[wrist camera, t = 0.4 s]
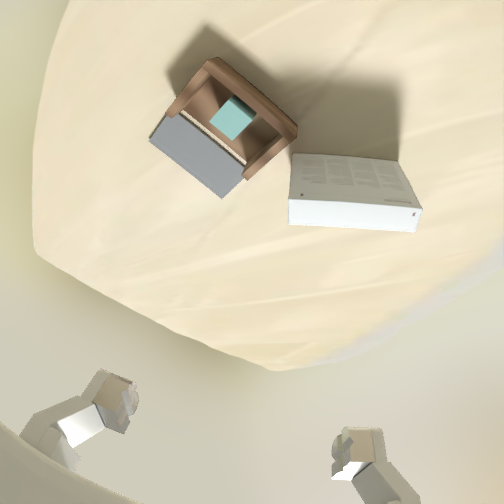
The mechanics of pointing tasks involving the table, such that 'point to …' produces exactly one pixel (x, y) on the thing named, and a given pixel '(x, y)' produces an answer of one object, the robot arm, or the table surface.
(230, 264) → the table surface
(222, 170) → the grey mat
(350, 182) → the skincare box
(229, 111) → the teal block
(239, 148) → the open-fronted box
